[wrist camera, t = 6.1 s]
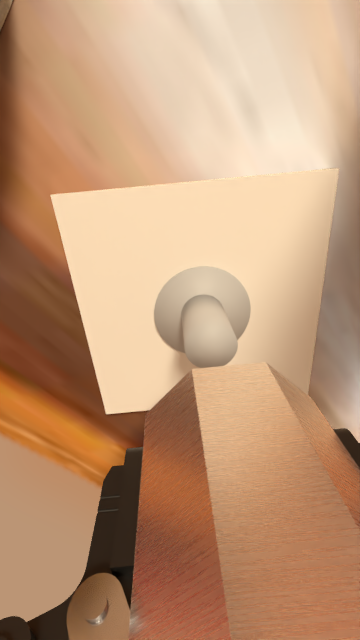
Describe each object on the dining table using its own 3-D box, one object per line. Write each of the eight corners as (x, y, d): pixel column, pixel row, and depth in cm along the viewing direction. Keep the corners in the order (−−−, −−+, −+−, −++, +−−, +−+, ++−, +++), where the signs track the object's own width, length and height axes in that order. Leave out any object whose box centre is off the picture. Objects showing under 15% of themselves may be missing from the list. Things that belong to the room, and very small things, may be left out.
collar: (317, 357, 10) (550, 625, 4) (300, 476, 13) (423, 746, 7) (138, 373, 10) (100, 672, 4) (158, 490, 13) (153, 775, 7)
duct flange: (331, 168, 19) (396, 165, 14) (303, 388, 27) (337, 440, 22) (55, 194, 19) (12, 200, 14) (108, 406, 27) (93, 463, 22)
